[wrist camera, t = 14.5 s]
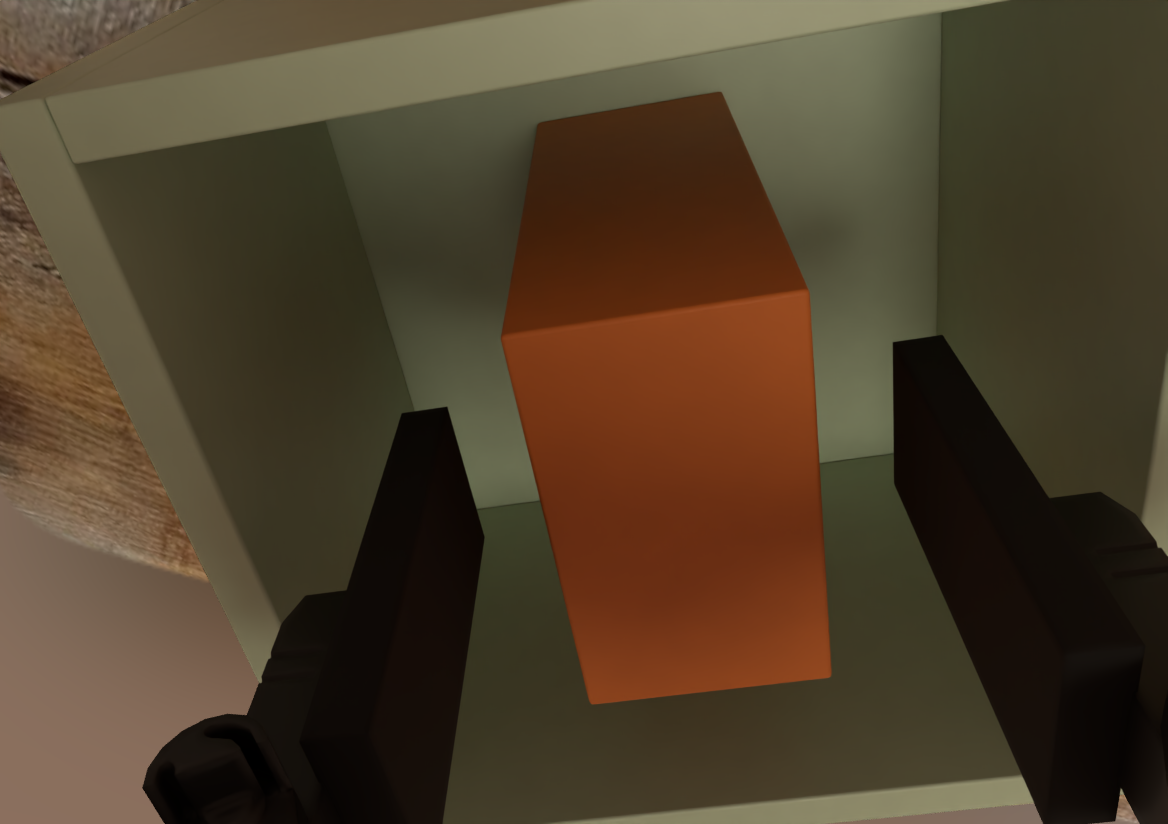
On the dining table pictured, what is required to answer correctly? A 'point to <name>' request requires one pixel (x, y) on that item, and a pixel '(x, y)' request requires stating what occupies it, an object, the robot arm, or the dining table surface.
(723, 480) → the orange rectangular prism
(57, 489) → the dining table surface
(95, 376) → the dining table surface
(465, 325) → the open square bin
